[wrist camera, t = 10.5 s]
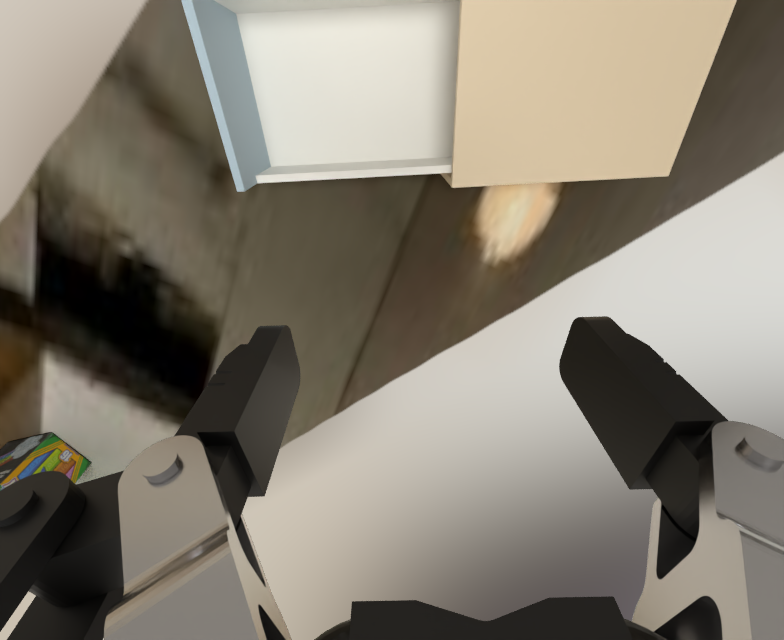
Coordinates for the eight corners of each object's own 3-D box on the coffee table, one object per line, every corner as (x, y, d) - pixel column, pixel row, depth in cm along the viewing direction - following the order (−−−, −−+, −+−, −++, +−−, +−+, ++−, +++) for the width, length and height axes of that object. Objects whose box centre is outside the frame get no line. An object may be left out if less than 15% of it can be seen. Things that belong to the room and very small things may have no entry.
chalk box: (51, 471, 59) (-37, 568, 47) (5, 441, 54) (-106, 540, 42) (94, 462, 58) (17, 559, 46) (52, 430, 53) (-47, 529, 41)
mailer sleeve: (678, -35, 25) (766, -76, 20) (617, 163, 33) (668, 176, 27) (445, -22, 26) (464, -59, 20) (439, 172, 33) (452, 187, 27)
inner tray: (551, -13, 25) (613, -56, 19) (524, 159, 32) (562, 173, 25) (228, 5, 25) (172, -31, 19) (267, 172, 32) (237, 191, 25)
